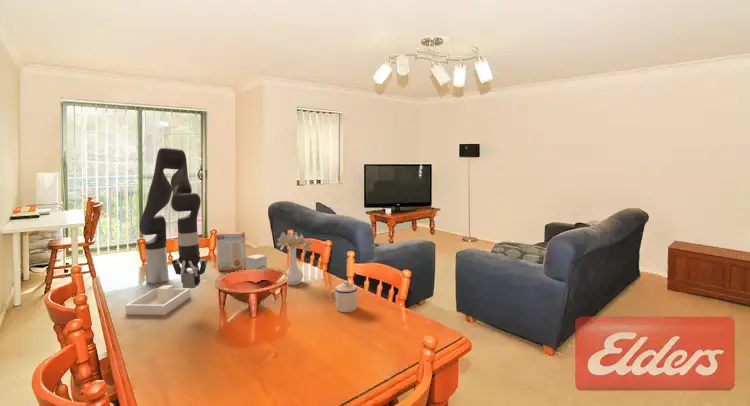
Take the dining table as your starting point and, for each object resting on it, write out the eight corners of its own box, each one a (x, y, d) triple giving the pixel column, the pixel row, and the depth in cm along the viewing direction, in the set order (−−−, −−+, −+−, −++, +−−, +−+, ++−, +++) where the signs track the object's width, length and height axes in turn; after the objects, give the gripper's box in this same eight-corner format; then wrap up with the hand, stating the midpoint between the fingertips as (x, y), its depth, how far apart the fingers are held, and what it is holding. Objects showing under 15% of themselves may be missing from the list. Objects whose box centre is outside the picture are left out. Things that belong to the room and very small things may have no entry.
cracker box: (247, 268, 223) (245, 231, 220) (242, 271, 217) (240, 233, 214) (223, 268, 224) (221, 231, 222) (217, 271, 218) (215, 233, 216)
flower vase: (307, 288, 190) (305, 236, 186) (272, 285, 194) (270, 234, 191) (317, 280, 202) (316, 231, 199) (284, 277, 207) (282, 229, 203)
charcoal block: (182, 288, 160) (181, 273, 160) (188, 284, 165) (187, 270, 164) (193, 288, 160) (192, 273, 159) (199, 284, 165) (198, 270, 164)
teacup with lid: (360, 305, 168) (360, 278, 166) (352, 314, 159) (352, 285, 158) (334, 302, 172) (333, 276, 170) (325, 310, 163) (324, 282, 162)
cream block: (157, 302, 172) (156, 288, 171) (164, 298, 176) (163, 285, 176) (168, 302, 172) (167, 288, 171) (174, 298, 176) (173, 285, 175)
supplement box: (256, 284, 197) (255, 258, 195) (246, 281, 201) (245, 256, 199) (267, 279, 203) (266, 255, 201) (257, 277, 207) (256, 253, 205)
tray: (125, 314, 160) (125, 305, 160) (155, 296, 180) (155, 288, 179) (164, 315, 159) (164, 305, 159) (190, 297, 179) (189, 288, 179)
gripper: (210, 241, 163) (212, 281, 166) (176, 240, 164) (178, 280, 166) (201, 245, 156) (203, 287, 158) (165, 245, 157) (168, 287, 159)
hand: (191, 284), depth 162 cm, fingers closed on charcoal block, 4 cm apart
